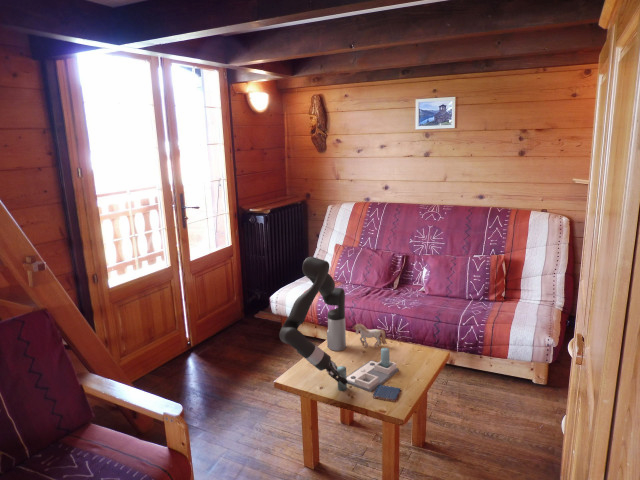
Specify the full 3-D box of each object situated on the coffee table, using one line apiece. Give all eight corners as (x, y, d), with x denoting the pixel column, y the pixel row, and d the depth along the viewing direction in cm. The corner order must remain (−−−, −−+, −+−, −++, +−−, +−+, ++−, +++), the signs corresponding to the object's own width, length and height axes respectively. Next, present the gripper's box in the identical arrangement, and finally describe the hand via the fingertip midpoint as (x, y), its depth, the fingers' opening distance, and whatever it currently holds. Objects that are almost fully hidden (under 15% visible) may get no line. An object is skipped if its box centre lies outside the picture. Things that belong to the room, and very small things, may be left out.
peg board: (342, 381, 209) (341, 359, 207) (370, 361, 227) (370, 341, 225) (371, 392, 199) (370, 369, 197) (398, 370, 217) (398, 349, 215)
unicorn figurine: (349, 346, 247) (348, 322, 244) (383, 342, 250) (383, 319, 247) (352, 351, 240) (351, 327, 237) (387, 347, 243) (387, 324, 240)
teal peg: (336, 389, 203) (335, 368, 201) (341, 385, 206) (340, 365, 204) (343, 392, 200) (342, 371, 198) (348, 388, 203) (348, 367, 201)
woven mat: (396, 403, 190) (396, 399, 190) (372, 399, 195) (372, 395, 194) (402, 391, 200) (402, 387, 199) (379, 387, 204) (378, 383, 203)
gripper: (326, 358, 191) (353, 379, 195) (320, 344, 205) (345, 364, 209) (314, 371, 191) (342, 392, 195) (309, 356, 205) (335, 377, 209)
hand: (344, 378), depth 202 cm, fingers open, 8 cm apart
